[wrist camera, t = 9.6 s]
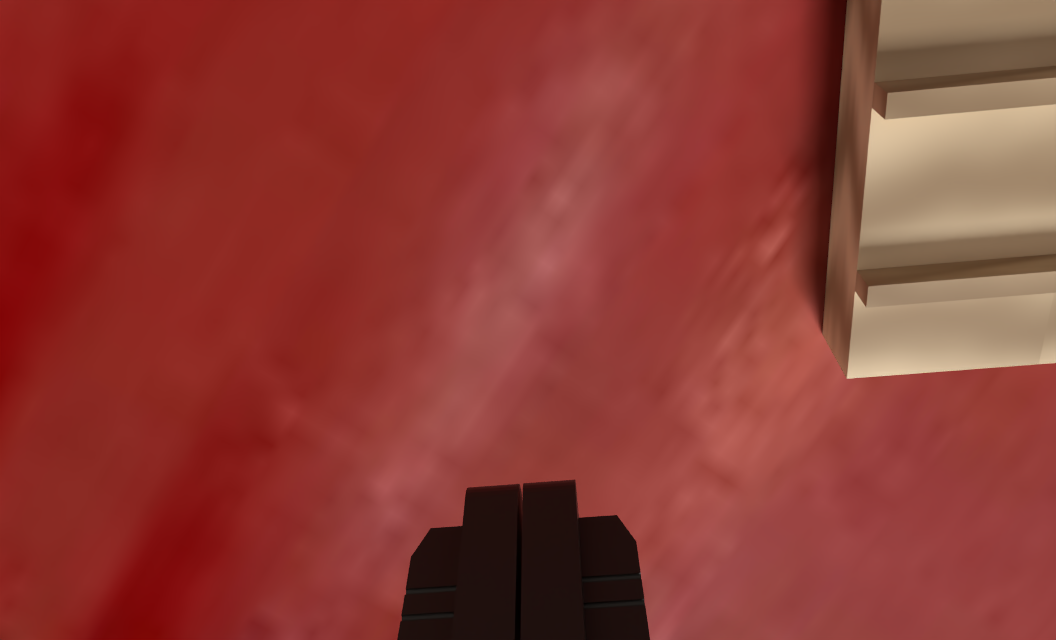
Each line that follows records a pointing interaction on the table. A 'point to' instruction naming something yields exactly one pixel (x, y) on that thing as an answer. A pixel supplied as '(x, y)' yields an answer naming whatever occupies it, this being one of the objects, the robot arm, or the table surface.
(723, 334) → the table surface
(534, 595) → the robot arm
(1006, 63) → the wooden stepped tray
